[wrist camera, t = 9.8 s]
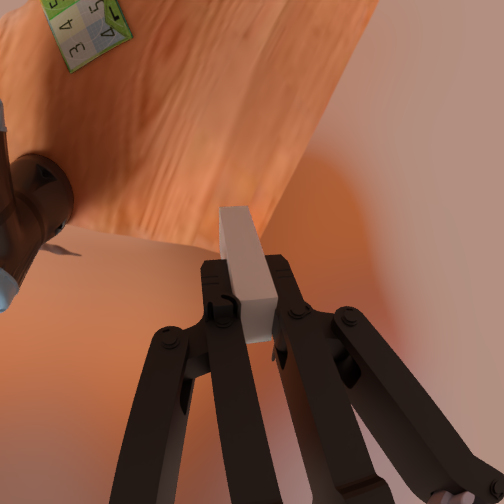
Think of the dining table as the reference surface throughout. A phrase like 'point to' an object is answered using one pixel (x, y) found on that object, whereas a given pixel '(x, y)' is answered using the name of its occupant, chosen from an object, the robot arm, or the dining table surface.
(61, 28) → the green number grid board
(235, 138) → the dining table surface
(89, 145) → the dining table surface
